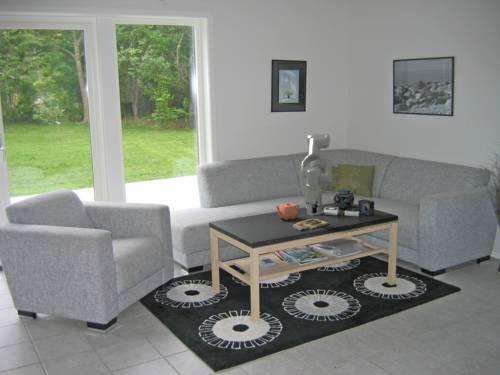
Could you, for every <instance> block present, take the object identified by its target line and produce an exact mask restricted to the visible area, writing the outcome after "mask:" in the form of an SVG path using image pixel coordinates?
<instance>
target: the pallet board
mask: <svg viewBox="0 0 500 375" xmlns="http://www.w3.org/2000/svg"><path fill="white" fill-rule="evenodd" d="M298 222H299V221H298ZM298 222H296V223H295V224H297V223H298ZM300 222H303V224H306V225H308V229H309V228H311V229H310V230H313V229H312V228H315V229H318V228H322V227H324V226H325V227H326V226H329V225H330V222H327V221H323V220H321V219H316V218H314V217H313V218H309V219H306V220H301V221H300ZM328 224H329V225H328ZM321 226H322V227H321ZM317 227H318V228H317Z"/></svg>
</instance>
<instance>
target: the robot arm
mask: <svg viewBox="0 0 500 375" xmlns="http://www.w3.org/2000/svg"><path fill="white" fill-rule="evenodd" d="M306 143H307V147H308V150H307V152H308V153H307V155H306V157H304V159H303V160H302V162H301V165H300V176H301V178H303V179H306V185H305V186H306V188H305V192H304V203H305V204H306V205H307V203H310V204H313V207H314V208H313V214H315V213H317V207H318V214H316V215H315V216H320V215H323V214H324V213H325V212H324V210H322V208H323V204H322V203H323V200H322V199H323V196H322V194H323V192H322V191H323V190H322V188H321V187H320V186H325V185H326V186H329V185H331V182H332V167H333V166H332V161H331V159H330V158H329V157H323V156H322V155H323V154H322V153H323V152H322V150H321V149H328V148H329V147H330V143H331V135H329V133H323V134H322V133H321V134H320V133H315V134H314V133H313V134H308V135H307V136H306ZM308 164H310V165H309V166H307V165H308ZM306 166H307V167H306ZM306 209H307V206H306Z"/></svg>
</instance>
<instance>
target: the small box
mask: <svg viewBox="0 0 500 375" xmlns="http://www.w3.org/2000/svg"><path fill="white" fill-rule="evenodd" d="M357 203H358V204H357V206H358V207H357V208H358V209H357V212H358V211H359V212H360V214H359V215H362V216H366V217H372V216H374V215H375V201H374V200H371V199H370V200H368V199H364V198H362V199H360V200H358V202H357Z"/></svg>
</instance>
